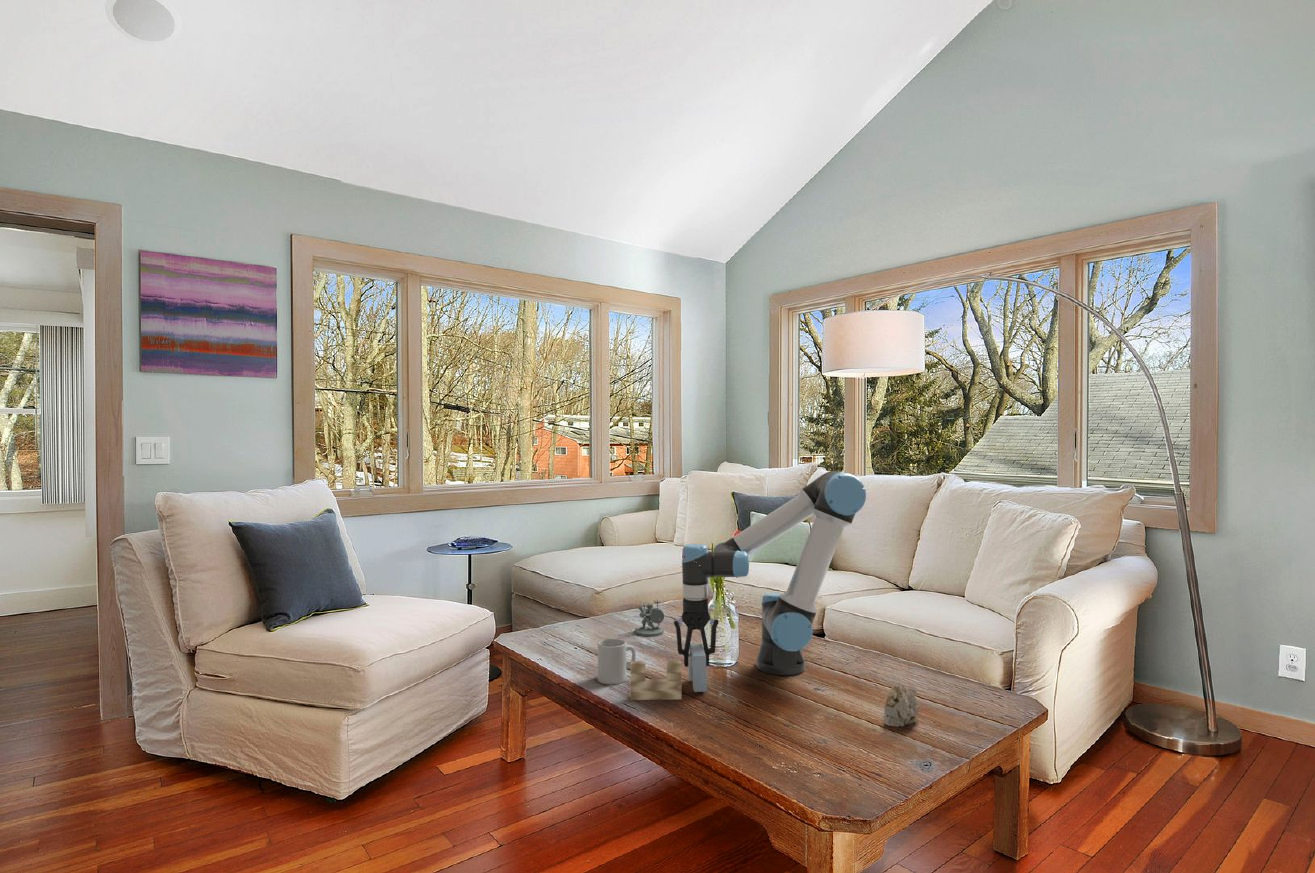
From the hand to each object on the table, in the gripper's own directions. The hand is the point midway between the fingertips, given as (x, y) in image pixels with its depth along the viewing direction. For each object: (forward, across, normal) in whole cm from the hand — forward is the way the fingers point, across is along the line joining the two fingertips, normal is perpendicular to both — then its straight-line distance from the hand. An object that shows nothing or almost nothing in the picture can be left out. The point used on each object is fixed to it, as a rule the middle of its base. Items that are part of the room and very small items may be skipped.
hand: (696, 676), depth 203 cm
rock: (+3, -50, +29) cm, 58 cm away
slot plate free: (+1, 0, +4) cm, 4 cm away
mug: (+1, +24, -4) cm, 24 cm away
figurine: (+2, +12, -52) cm, 54 cm away
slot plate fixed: (+1, +12, +12) cm, 17 cm away
